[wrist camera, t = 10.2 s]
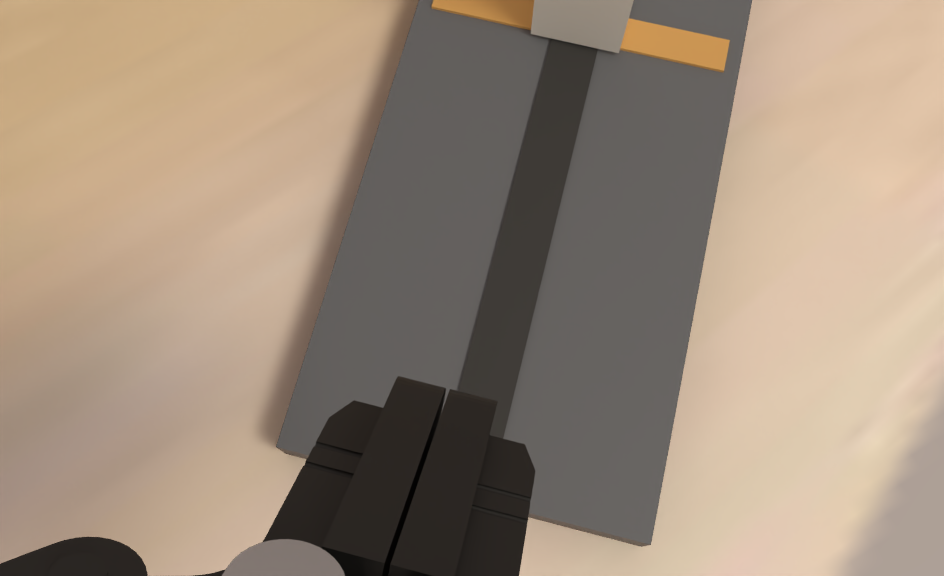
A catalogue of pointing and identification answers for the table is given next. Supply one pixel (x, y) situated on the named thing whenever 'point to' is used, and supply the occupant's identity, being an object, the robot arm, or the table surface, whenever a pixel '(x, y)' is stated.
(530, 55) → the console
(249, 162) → the table surface
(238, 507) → the table surface
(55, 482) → the table surface
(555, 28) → the fader
